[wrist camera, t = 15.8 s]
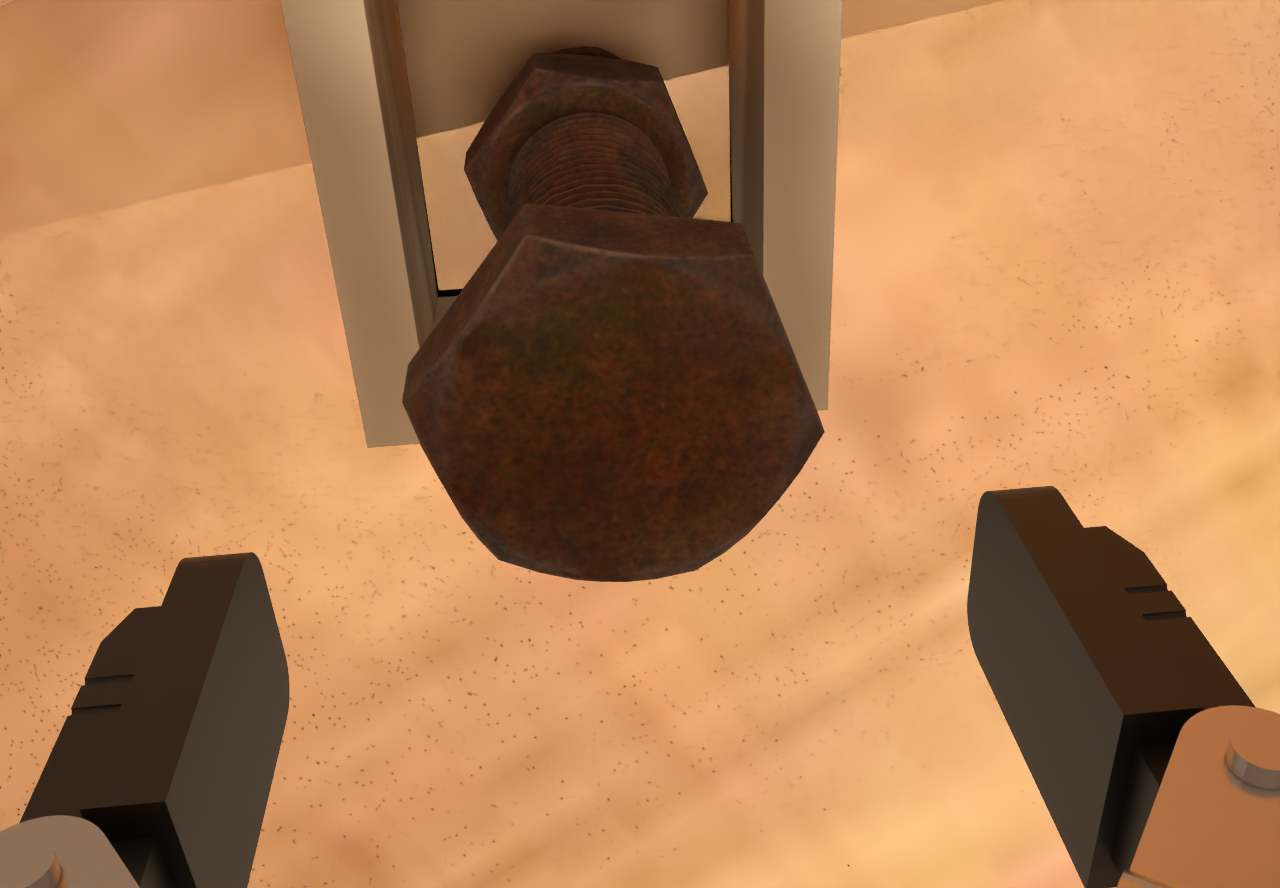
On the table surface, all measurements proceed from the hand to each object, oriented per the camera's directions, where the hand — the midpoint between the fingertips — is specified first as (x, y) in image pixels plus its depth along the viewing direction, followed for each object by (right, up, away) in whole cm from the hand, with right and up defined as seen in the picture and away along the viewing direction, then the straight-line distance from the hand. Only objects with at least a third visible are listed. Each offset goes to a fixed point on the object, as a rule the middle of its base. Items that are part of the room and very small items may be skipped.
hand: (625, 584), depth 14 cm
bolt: (-1, +10, +15) cm, 18 cm away
